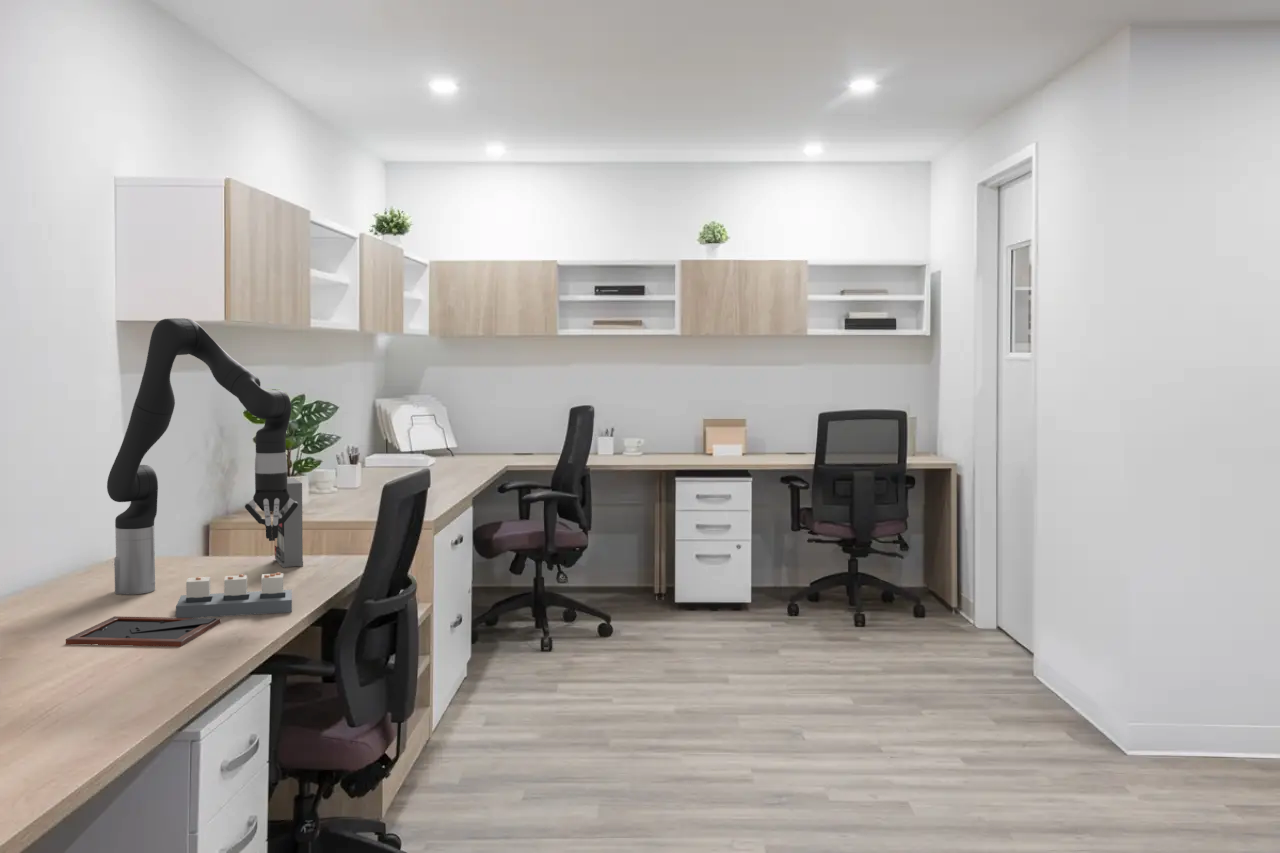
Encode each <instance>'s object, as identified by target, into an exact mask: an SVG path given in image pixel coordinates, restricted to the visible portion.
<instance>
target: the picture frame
mask: <svg viewBox="0 0 1280 853" xmlns="http://www.w3.org/2000/svg"><path fill="white" fill-rule="evenodd" d="M219 625H221V618H219V617H218V618H217V617H200V618H176V617H169V616H168V617H167V616H166V617H162V616H161V617H159V616H119V615H117V616H112V617H110V618H108V619H106V620H104V621H101V622H100V623H97V624H95V625H94V626H91V627H89V628H87V629H84V630H82V631H80V632H77V633H75V634H74V635H72V636H69V637H67V638H66V639H65V645H71V644H91V645H90V646H93V645H92V644H98V645H97V646H120V645H133V647H138V646H139V647H172V648H173V647H175V648H176V647H177V648H179V647H183V646H185V645H186V644H188V643H190V642H191V641H193V640H194V639H196V638H198V637H199V636H201V635H203V634H205V633H206V632H208V631H210V630H212V629H214V628H215V627H217V626H219Z"/></svg>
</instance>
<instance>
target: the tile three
mask: <svg viewBox="0 0 1280 853" xmlns="http://www.w3.org/2000/svg"><path fill="white" fill-rule="evenodd" d="M283 590H284V572H283V573H281V571H280V572H275V573H264V574H263V573H262V574H261V591H262V594H264V593H268V594H277V593H283Z"/></svg>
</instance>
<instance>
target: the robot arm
mask: <svg viewBox="0 0 1280 853" xmlns="http://www.w3.org/2000/svg"><path fill="white" fill-rule="evenodd" d="M185 355H191V356H193V357H195V358H196V359H199V360H200V361H201V362H203V363H204V364H206V365H207V367H208V368H209V370H210V372H211V374H212V377H213V378H214V379H215V381H216V382H217V383H218V384H219V385H220V386H221V387H223V388H224V390H226V391H227V392H229V393H230V394H232V395H233V396H234V397H236V398H237V399H238V401H239V402H240V403H241V405H242V406H243V407H244V408H245V410H246V411H247V412H248V413H249V414H250V415H252V416H254V417H255V418H258V419H262V420H265V421H264V426H263V427H262V428H260V429H258V430H257V431H256V433H255V458H254V488H255V489H254V490H255V491H254V492H255V493H254V494H253V497H252V498H253V499H252V500H250V501H249V502H247V503H245V505H244V508H245V509H246V511H247V512H248V513H249V514H250V515H251V516H252V518H254V520H255V521H256V522H257V523H258V524H261V525H264V526H265V538H266V540H268V541H269V542H274V541H276V539H277V537H278V525H279V524H281V523H284V522H285V521H286V520H287V519H288V518H289V516H290V515H291V514H292V513H293V511H294V510H295V509H296V507H297V506H298V503H297V502H296V501H293V500H292V499H291V498H290V495H289V493H288V491H287V478H288V459H287V447H286V446H287V444H286V442H287V441H286V436H287V431H288V428H289V423H290V419H291V415H292V402H291V398H290V397H289V395H288V394H287V393H286V391H284V390H281V389H264V388H262V386H261V380H260V378H258V376H256V375H255V374H254V373H253V372H251V371H250V369H248V368H247V367H245V366H244V365H242V364H241V363H239V361H237V360H235V359H234V358H233V357H232V356H231V355H230V354H229V353H227V352H226V351H225V350H224V348H222V347H221V346H220V345H219V344H218V342H217V341H215V340H214V339H213V337H212V336H210V334H209V333H208V332H207V331H206V330H205V329H204V327H202V326H201V325H200V324H199V323H198V322H196V321H195V320H193V319H191V318H184V317H183V318H181V317H180V318H177V317H176V318H164V319H161V320H159V321H158V322H157V323H156V324H155V326H154V327H153V329H152V332H151V336H150V339H149V343H148V351H147V356H146V362H145V366H144V371H143V373H142V374H143V375H142V377H141V378H142V379H141V382H140V384H139V389H138V392H137V395H136V398H135V401H134V403H133V408H132V411H131V413H130V418H129V422H128V425H127V427H126V431H125V434H124V437H123V440H122V442H121V446H120V447H119V450H118V452H117V455H116V457H115V459H114V462H113V464H112V466H111V467H110V471H109V474H108V477H107V482H106V483H107V484H106V490H107V491H106V492H107V494H108V496H109V498H110V499H111V500H112V501H114V502H117V503H128V502H130V504H129V507H127V508H126V509H125V510H124V511H123V512H121V513H119V514H118V515H117V516H116V517H115V519H114V520H115V521H114V523H115V524H114V525H115V527H114V528H115V557H114V559H113V561H114V567H113V568H114V594H115V595H140V594H148V593H152V592H154V591H155V590H156V559H155V554H156V552H155V550H156V549H155V547H156V546H155V544H156V543H155V541H156V539H155V519H156V517H157V513H158V498H159V497H158V496H159V495H158V493H159V485H158V484H159V483H158V476H157V473H156V471H155V470H154V468H153V467H151V466H150V465H149V464H141V462H142V460H143V458H144V457H145V455H146V454H147V453H148V452H149V450H151V448H152V447H153V446H154V445H155V444H156V443H157V442H158V441H159V440H160V439H161V438H162V437H163V435H164V434H165V432H166V431H167V430H168V428H169V426H170V423H171V419H172V417H173V413H174V409H175V405H176V402H175V401H176V399H175V395H174V390H173V387H172V383H171V372H172V369H173V365H174V362H175V360H176V357H178V356H185ZM287 502H288V510H287V511H286V512H285V513H284V515H283V516H282V517H281V518H278V517H279V511H280V510H282V508H283V507H284V506H285V504H286V503H287ZM257 506H258V507H259V509H260V510H261V511H262V512H264V518H263V517H262V516H261V515H260V513H258V511H257V510H256V508H257ZM271 512H273V514H272V515H273V516H272V518H271Z"/></svg>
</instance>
